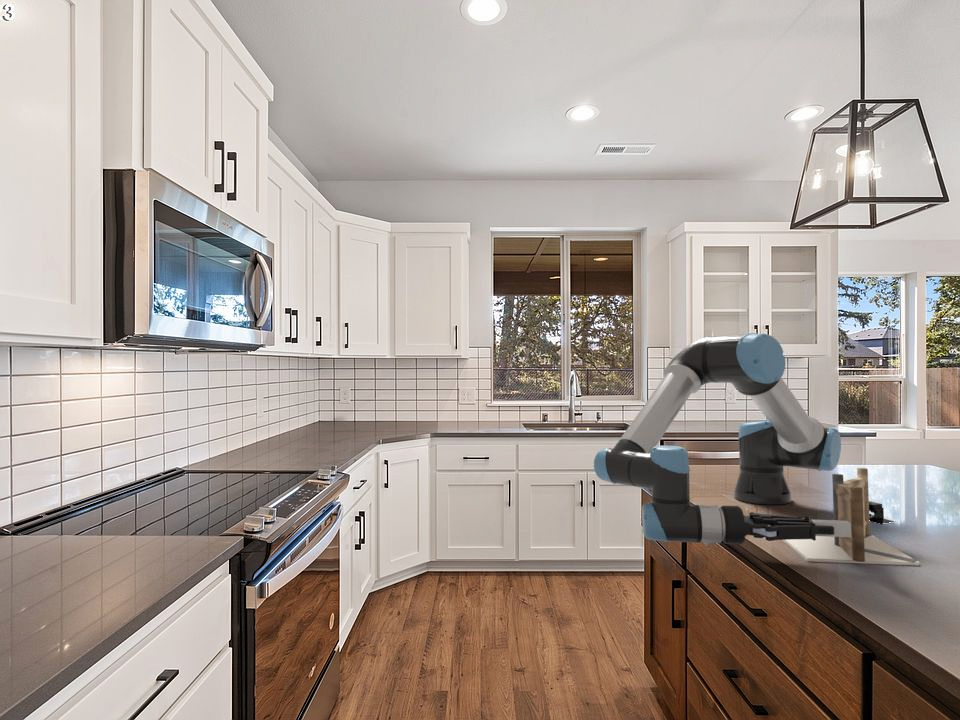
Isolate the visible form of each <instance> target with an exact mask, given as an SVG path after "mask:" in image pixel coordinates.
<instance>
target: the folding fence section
mask: <svg viewBox="0 0 960 720" xmlns="http://www.w3.org/2000/svg"><path fill="white" fill-rule="evenodd" d="M836 494H837V498H838V520H840V521H848V522H850V523H851V537H839V545H840V546H841V547H842V548H843V549H844V550H845V551H847V552H848V553H849V554H850V555H851V556H852V559H853V560H854V561H858V562H864V561H865V549H864V520H863V491H862V488H861V487H848V486H846V485H845V484H837V488H836Z"/></svg>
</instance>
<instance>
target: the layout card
mask: <svg viewBox="0 0 960 720" xmlns="http://www.w3.org/2000/svg"><path fill="white" fill-rule="evenodd" d="M782 541H783V542H784V543H785V544H786V545H787V546H789V547H790V548H791V549H792V550H794V551H795V552H796V553H797V554H798V555H799V556H800V557H802V558H803V559H804V560H805V561H807V562H817V563H840V564H841V563H843V564H844V563H845V564H846V563H847V564H868V565H869V564H870V565H871V564H873V565H894V566H895V565H896V566H919V565H921V564H920V562H921V561H918V559H914V558H912V557H911V556H909V555H907V554H906V553H904V552H902V551H900V550H898V549H897V548H895V547H893V546H891V545H890V544H888V543H886V542H884V541H883V540H881V539H879V538H878V537H876V536H874V535H873V534H871V533H870V536H865V537H864V549H865V561H864V562H858V561H854V560H853V559H852V556H851V555H850V554H849V553H848V552H847V551H845V550H844V549H843V548H842V547H841V546H836V545H835V542H834V537H830V536H816V540H815V541H813V540H812V539H791V540H782Z"/></svg>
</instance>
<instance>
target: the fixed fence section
mask: <svg viewBox="0 0 960 720" xmlns="http://www.w3.org/2000/svg"><path fill="white" fill-rule="evenodd" d="M868 469H869V468H866V467H857V468H856V475H857V477H854V478H852V479H847V480H844V474H841V473H832V475H831V477H832V479H831V480H832V500H833V501H832V504H833V505H832V508H833V520H838V498H837V494H836V488H837V484H845V485H846V486H848V487H861V488H862V491H863V520H864V537H865V536H870V534H871V531H870V530H871V527H870V521H869V514H870V511H869V501H870V499H869V494H870V493H869V474H868V473H869V472H868V471H869V470H868ZM834 542H835V545H836V546H840V545H839V537H834Z"/></svg>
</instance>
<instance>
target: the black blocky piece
mask: <svg viewBox="0 0 960 720" xmlns="http://www.w3.org/2000/svg"><path fill="white" fill-rule="evenodd" d="M884 511H885V510H884V507H883V503H879V502H874V501H870V500H869V512H870V513H869V520H870V521H873V522H872V523H874V522H876V523H875V524H878V523H880V524H879V525H882V524H883V523H889V522H894V520H890V519H888V518H887V519H886V518H885V513H884ZM872 513H873V514H872ZM870 521H869V522H870ZM883 525H884V524H883Z"/></svg>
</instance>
